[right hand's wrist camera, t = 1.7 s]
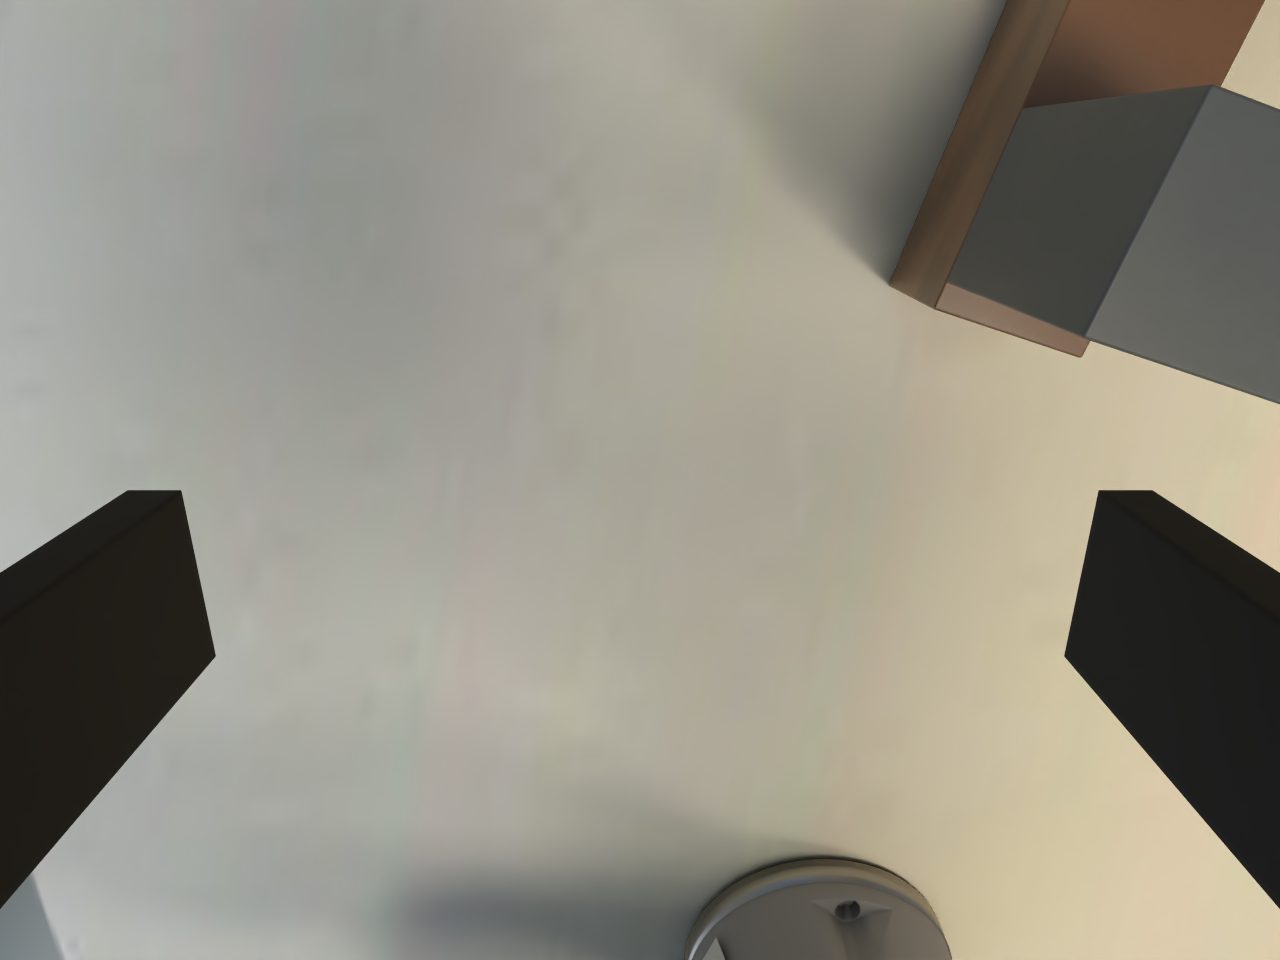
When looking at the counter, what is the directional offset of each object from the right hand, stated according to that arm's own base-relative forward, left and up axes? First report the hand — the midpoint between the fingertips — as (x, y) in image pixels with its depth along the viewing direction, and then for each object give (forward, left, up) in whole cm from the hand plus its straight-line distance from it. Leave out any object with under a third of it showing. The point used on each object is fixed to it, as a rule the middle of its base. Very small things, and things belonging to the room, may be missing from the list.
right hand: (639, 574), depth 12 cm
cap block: (-6, -14, -20) cm, 25 cm away
